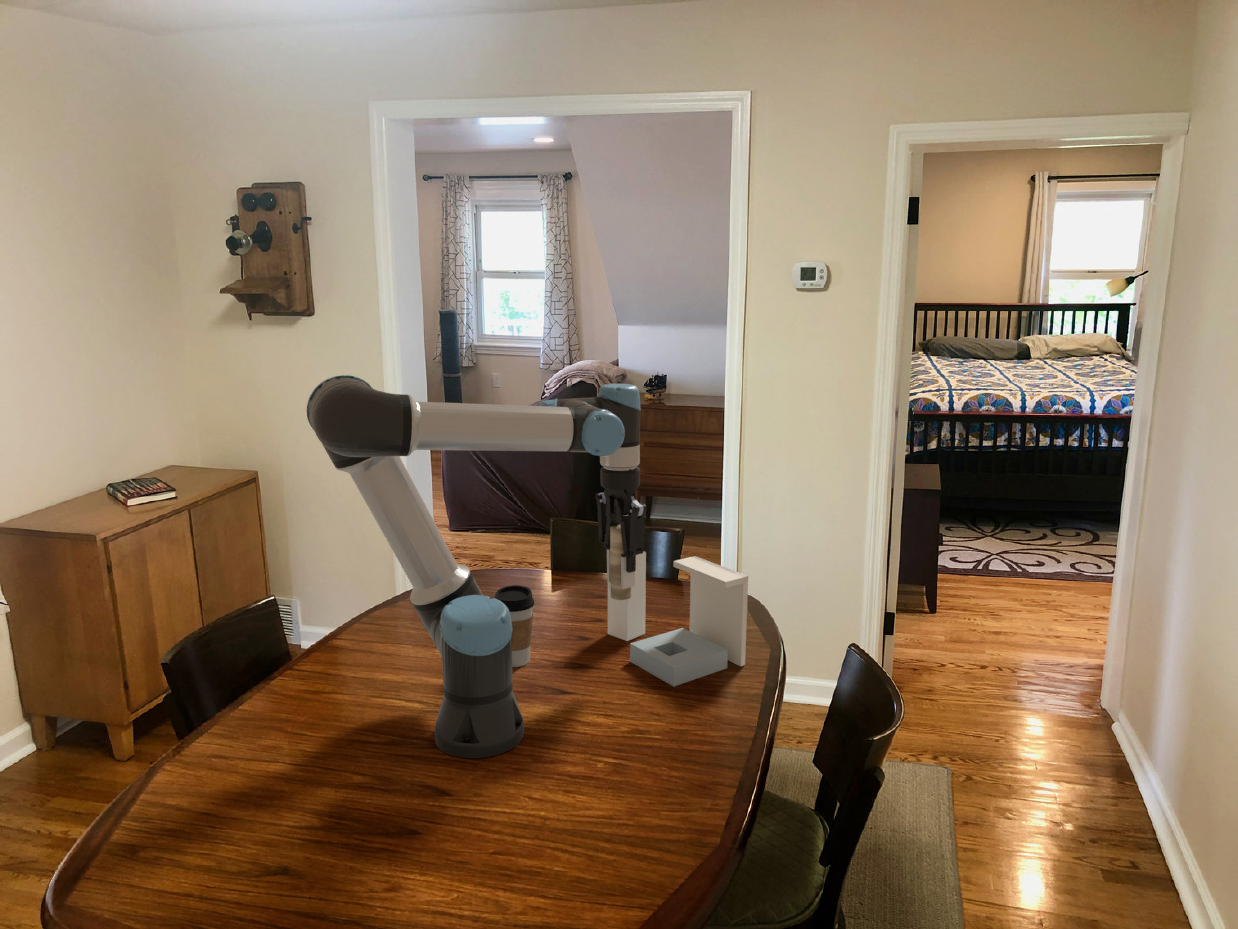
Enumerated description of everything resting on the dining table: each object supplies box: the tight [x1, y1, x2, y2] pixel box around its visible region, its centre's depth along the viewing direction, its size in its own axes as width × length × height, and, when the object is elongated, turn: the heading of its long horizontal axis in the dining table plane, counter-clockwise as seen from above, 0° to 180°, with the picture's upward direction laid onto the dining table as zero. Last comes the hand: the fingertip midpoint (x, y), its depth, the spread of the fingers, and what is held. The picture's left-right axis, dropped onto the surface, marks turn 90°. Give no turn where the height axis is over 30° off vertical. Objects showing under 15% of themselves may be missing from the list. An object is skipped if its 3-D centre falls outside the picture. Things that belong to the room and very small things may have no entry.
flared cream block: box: [673, 555, 749, 667], centre depth 184 cm, size 6×16×19 cm, turn 36°
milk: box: [607, 551, 647, 642], centre depth 194 cm, size 6×6×22 cm
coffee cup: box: [494, 584, 535, 668], centre depth 181 cm, size 8×8×15 cm
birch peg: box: [610, 524, 631, 600], centre depth 172 cm, size 4×4×14 cm
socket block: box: [629, 627, 729, 687], centre depth 181 cm, size 14×14×4 cm
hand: (620, 583), depth 173 cm, fingers closed on birch peg, 4 cm apart
